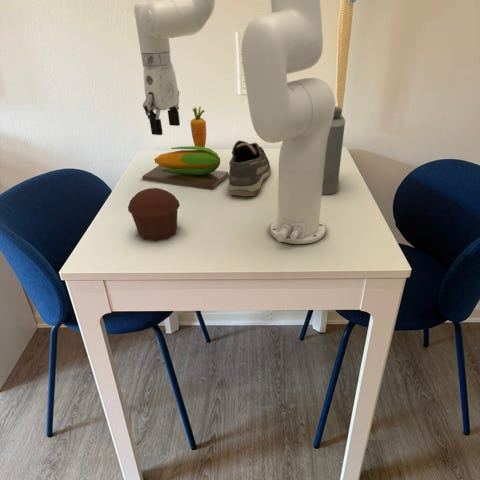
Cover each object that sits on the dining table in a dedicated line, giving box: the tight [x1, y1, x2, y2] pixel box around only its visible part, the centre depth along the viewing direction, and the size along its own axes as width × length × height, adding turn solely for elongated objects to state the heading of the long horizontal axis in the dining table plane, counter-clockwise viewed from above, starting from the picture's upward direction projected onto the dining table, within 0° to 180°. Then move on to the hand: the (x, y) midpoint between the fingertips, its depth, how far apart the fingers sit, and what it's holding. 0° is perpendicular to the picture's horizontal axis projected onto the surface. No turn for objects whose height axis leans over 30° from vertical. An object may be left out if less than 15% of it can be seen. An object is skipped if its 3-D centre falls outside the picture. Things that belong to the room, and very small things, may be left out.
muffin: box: [127, 187, 181, 242], centre depth 101 cm, size 12×11×10 cm
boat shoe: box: [227, 140, 271, 197], centre depth 125 cm, size 11×29×11 cm, turn 174°
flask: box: [322, 105, 346, 195], centre depth 118 cm, size 15×6×20 cm, turn 176°
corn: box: [153, 145, 221, 175], centre depth 128 cm, size 7×8×20 cm
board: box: [142, 165, 229, 190], centre depth 131 cm, size 11×23×1 cm, turn 67°
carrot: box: [190, 106, 207, 148], centre depth 142 cm, size 5×5×15 cm
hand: (166, 129), depth 124 cm, fingers open, 9 cm apart
